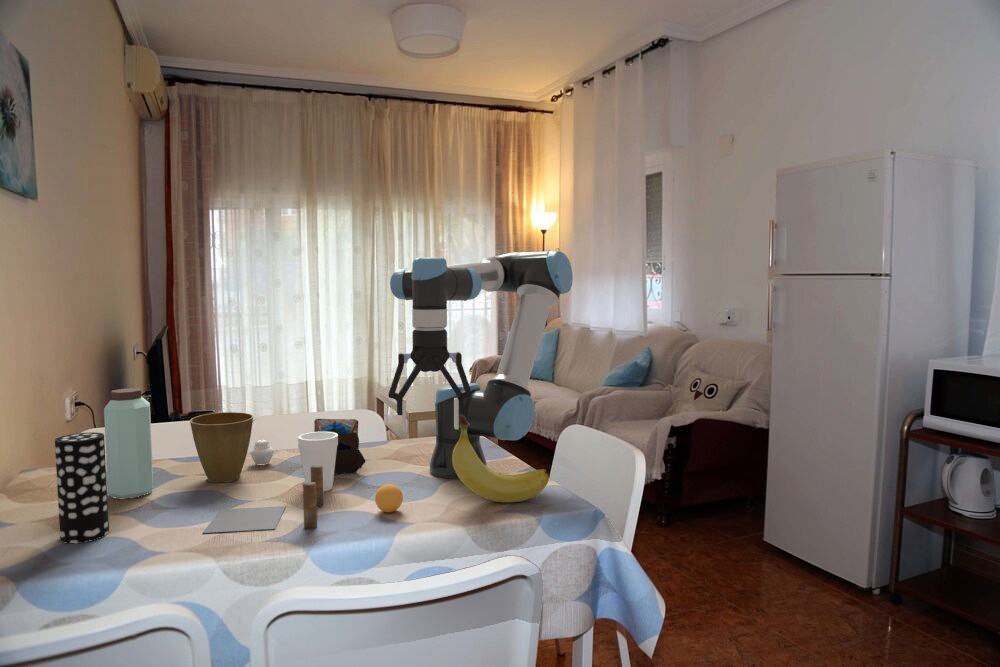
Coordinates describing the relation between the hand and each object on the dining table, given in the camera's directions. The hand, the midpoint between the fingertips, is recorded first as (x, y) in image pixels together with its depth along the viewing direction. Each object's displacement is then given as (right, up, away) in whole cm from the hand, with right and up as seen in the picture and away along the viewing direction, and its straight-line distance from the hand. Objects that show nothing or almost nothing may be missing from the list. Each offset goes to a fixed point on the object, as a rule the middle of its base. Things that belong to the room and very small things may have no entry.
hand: (430, 428), depth 147 cm
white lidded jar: (-51, -16, +39) cm, 66 cm away
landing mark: (-39, -19, -5) cm, 43 cm away
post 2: (-26, -18, +4) cm, 32 cm away
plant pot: (-56, -17, +25) cm, 63 cm away
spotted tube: (-68, -20, -13) cm, 72 cm away
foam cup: (-29, -17, +17) cm, 38 cm away
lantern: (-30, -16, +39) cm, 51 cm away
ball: (-9, -15, 0) cm, 18 cm away
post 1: (-24, -19, -9) cm, 32 cm away
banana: (+15, -18, +6) cm, 24 cm away
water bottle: (-73, -18, +13) cm, 76 cm away
